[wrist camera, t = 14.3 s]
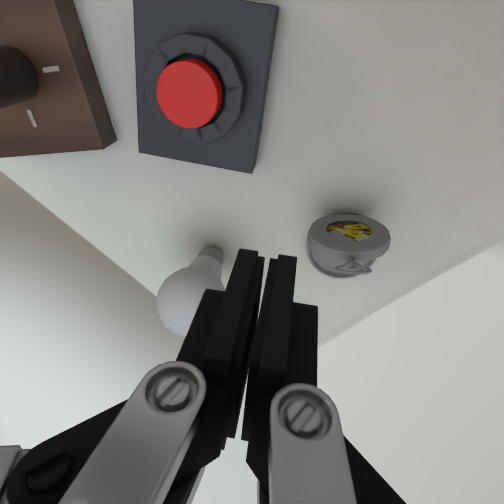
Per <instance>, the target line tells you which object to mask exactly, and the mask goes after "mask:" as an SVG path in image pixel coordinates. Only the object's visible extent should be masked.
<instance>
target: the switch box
mask: <svg viewBox="0 0 504 504" xmlns="http://www.w3.org/2000/svg"><path fill="white" fill-rule="evenodd" d="M133 7H134V35H135V62H136V90H137V117H138V145H139V153H145V154H150V155H155V156H161V157H166V158H171V159H176V160H182V161H187V162H192V163H198V164H203V165H208V166H213V167H219V168H224V169H229V170H234V171H240V172H245V173H250V174H252V172H253V170H254V168H255V165H256V159H257V152H258V146H259V139H260V132H261V125H262V119H263V112H264V105H265V99H266V92H267V85H268V79H269V72H270V65H271V58H272V52H273V45H274V38H275V32H276V25H277V18H278V12H279V6H274V5H268V4H262V3H256V2H250V1H244V0H133ZM187 58H193V59H198V60H201V61H203V62H205V63H207V64H208V65H209V66H210V67H211V68H212V69H213V70H214V71H215V72H216V74H217V75H218V77H219V79H220V82H221V85H222V90H223V99H222V104H221V106H220V109H219V110H218V112H217V113H216V115H215V116H214V117H213V118H212V119H211V120H210V121H209V122H208V123H206V124H205V125H203V126H201V127H198V128H190V129H189V128H184V127H180V126H178V125H176V124H174V123H173V122H172V121H170V120H169V119H168V118H167V117H166V116H165V114H164V113H163V111H162V110H161V108H160V106H159V103H158V100H157V93H156V88H157V82H158V79H159V76H160V74H161V73H162V71H163V70H164V69H165V68H166V67H167V66H168V65H170V64H172V63H174V62H177V61H180V60H183V59H187Z"/></svg>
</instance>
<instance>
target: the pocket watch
mask: <svg viewBox="0 0 504 504" xmlns="http://www.w3.org/2000/svg"><path fill="white" fill-rule="evenodd" d="M390 239H391V238H390V234H389V231H388V230H387V228H386V227H385V226H384V225H382V224H381V223H379V222H378V221H376V220H374V219H371V218H368V217H364V216H360V215H353V214H335V215H329V216H325V217H322V218H320V219H318V220H316V221H315V222H314V223H313V224H312V225H311V227H310V229H309V233H308V241H309V243H308V248H307V251H308V256H309V260H310V262H311V264H312V265H313V266H314V267H315V268H316V269H317V270H318V271H319V272H320V273H323V274H325V275H327V276H329V277H333V278H350V277H355V276H357V275H360V274H367V273H370V272H372V270H371V269H370V267H371V266H372V264H373V263H374V262H375V260H376V258H377V257H380V256H382V255H383V254H384V253H385V252H386V251H387V250H388V249H389V246H390ZM366 270H367V271H366Z"/></svg>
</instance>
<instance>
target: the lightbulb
mask: <svg viewBox="0 0 504 504" xmlns="http://www.w3.org/2000/svg"><path fill="white" fill-rule="evenodd" d="M222 263H223V255H222V253H221V252H220V251H219V250H218V249H216V248H213V247H206V248H204V249H203V250H202V251H201V252H200V254H199V255H198V257H197V258H195V259H194V260H193V262H192V263H191V265H190V266H189V267H186V268H183V269H181V270H178V271H176V272H174V273H173V274H171V275H170V276H169V277H168V278H167V279H166V280H165V281H164V282H163V284H162V285H161V287H160V289H159V292H158V296H157V310H158V314H159V316H160V319H161V320H162V322H163V323H164V325H165V326H166V327H167V328H168V329H169V330H170V331H172V332H173V333H175V334H177V335H180V336H183V337H186V335H187V332H188V330H189V327H190V325H191V323H192V320H193V318H194V315H195V313H196V310H197V308H198V305H199V303H200V301H201V298H202V296H203V293H204V291H205V290H206V289H207V288H208V289H214V290H220V291H225V289H224V286H223V284H222V282H221V274H222V268H221V267H222Z"/></svg>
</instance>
